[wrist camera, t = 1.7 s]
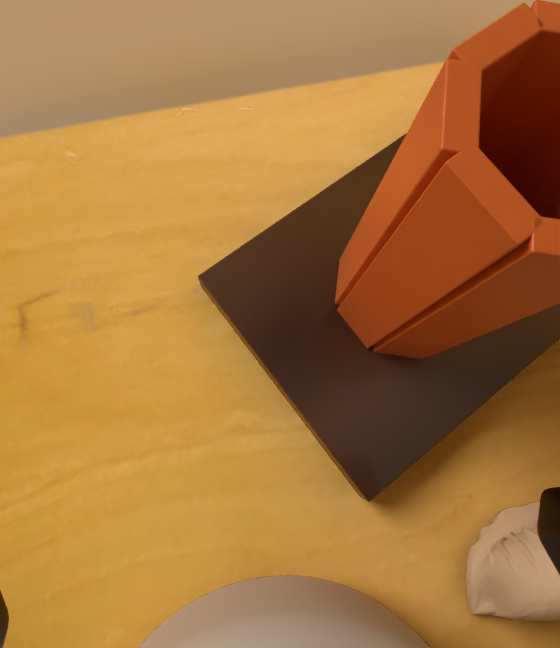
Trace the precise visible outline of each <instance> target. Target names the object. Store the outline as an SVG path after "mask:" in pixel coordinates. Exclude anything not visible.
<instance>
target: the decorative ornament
mask: <svg viewBox="0 0 560 648" xmlns="http://www.w3.org/2000/svg"><path fill="white" fill-rule="evenodd" d="M539 507H540V503H533V502H532V503H530V504H527V505H524V506H517V507H511V508H507V509H505V510H503V511H502V512H500V513H498V515H497V516H496V518H495V520H494V521H493V523H492V525H489V526H486V527H484V528H482V529H481V531H480V537H479V540H478V542H476V543H475V544H474V545H472V546H471V547H470V550H469V555H468V563H467V568H466V586H467V594H468V601H469V607H470V612H471V614H477V615H494V616H499V617H503V618H507V619H511V620H522V621H554V620H560V575H559V573H558V571H557V570H556V568H555V566H554V564H553V563H552V561H551V559H550V557H549V556H548V554H547V552H546V550H545V549H544V547H543V545H542V543H541V541H540V539H539V536H538V532H537V521H538V514H539Z"/></svg>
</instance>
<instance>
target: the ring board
mask: <svg viewBox="0 0 560 648" xmlns="http://www.w3.org/2000/svg"><path fill="white" fill-rule="evenodd" d="M406 134H407V133H406ZM406 134H405V135H403V136H402V137H400V138H399V139H398V140H396V141H395V142H393V143H392V144H390V145H389V146H387V147H386V148H384V149H383V150H381V151H380V152H379V153H377V154H376V155H374V156H373V157H371V158H370V159H368V160H367V161H365V162H364V163H362V164H361V165H360V166H358V167H357V168H355V169H354V170H352V171H351V172H349V173H348V174H346V175H345V176H343V177H342V178H341V179H339V180H338V181H336V182H335V183H333V184H332V185H330V186H329V187H327V188H326V189H324V190H323V191H321V192H320V193H319V194H317V195H316V196H314V197H313V198H311V199H310V200H308V201H307V202H305V203H304V204H302V205H301V206H300V207H298V208H297V209H295V210H294V211H292V212H291V213H289V214H288V215H286V216H285V217H283V218H282V219H281V220H279V221H278V222H276V223H275V224H273V225H272V226H270V227H269V228H267V229H266V230H264V231H263V232H262V233H260V234H259V235H257V236H256V237H254V238H253V239H251V240H250V241H248V242H247V243H245V244H244V245H243V246H241V247H240V248H238V249H237V250H235V251H234V252H232V253H231V254H229V255H228V256H226V257H225V258H224V259H222V260H221V261H219V262H218V263H216V264H215V265H213V266H212V267H210V268H209V269H207V270H206V271H205V272H203V273H202V274H200V275H199V276H198V278H199V281H200V284H201V287H202V288H203V290H204V291H205V292H206V294H207V295H208V296H209V298H210V299H211V300H212V302H213V303H214V304H215V305H216V307H217V308H218V309H219V311H220V312H221V313H222V315H223V316H224V317H225V319H226V320H227V321H228V323H229V324H230V325H231V327H232V328H233V329H234V331H235V332H236V333H237V335H238V336H239V337H240V339H241V340H242V341H243V343H244V344H245V345H246V346H247V348H248V349H249V350H250V352H251V353H252V354H253V356H254V357H255V358H256V360H257V361H258V362H259V364H260V365H261V366H262V368H263V369H264V370H265V372H266V373H267V374H268V376H269V377H270V378H271V380H272V381H273V382H274V384H275V385H276V386H277V387H278V389H279V390H280V391H281V393H282V394H283V395H284V397H285V398H286V399H287V401H288V402H289V403H290V405H291V406H292V407H293V409H294V410H295V411H296V413H297V414H298V415H299V417H300V418H301V419H302V421H303V422H304V423H305V425H306V426H307V427H308V428H309V430H310V431H311V432H312V434H313V435H314V436H315V438H316V439H317V440H318V442H319V443H320V444H321V446H322V447H323V448H324V450H325V451H326V452H327V454H328V455H329V456H330V458H331V459H332V460H333V462H334V463H335V464H336V466H337V467H338V468H339V469H340V471H341V472H342V473H343V475H344V476H345V477H346V479H347V480H348V481H349V483H350V484H351V485H352V487H353V488H354V489H355V491H356V492H357V493H358V495H359V496H360V497H362V498H363V499H365V500H367V501H371V500H372V499H373V498H374V497H375V496H376V495H377V494H379V493H380V492H381V491H382V490H383V489H384V488H386V487H387V486H388V485H389V484H390V483H391V482H393V481H394V480H395V479H396V478H397V477H398V476H400V475H401V474H402V473H403V472H404V471H405V470H407V469H408V468H409V467H410V466H411V465H412V464H414V463H415V462H416V461H417V460H418V459H419V458H421V457H422V456H423V455H424V454H425V453H426V452H428V451H429V450H430V449H431V448H432V447H433V446H435V445H436V444H437V443H438V442H439V441H440V440H442V439H443V438H444V437H445V436H446V435H447V434H449V433H450V432H451V431H452V430H453V429H454V428H456V427H457V426H458V425H459V424H460V423H461V422H463V421H464V420H465V419H466V418H467V417H468V416H470V415H471V414H472V413H473V412H474V411H475V410H477V409H478V408H479V407H480V406H481V405H482V404H484V403H485V402H486V401H487V400H488V399H489V398H491V397H492V396H493V395H494V394H495V393H496V392H498V391H499V390H500V389H501V388H502V387H503V386H505V385H506V384H507V383H508V382H509V381H510V380H512V379H513V378H514V377H515V376H516V375H517V374H519V373H520V372H521V371H522V370H523V369H524V368H526V367H527V366H528V365H529V364H530V363H531V362H532V361H534V360H535V359H536V358H537V357H538V356H539V355H541V354H542V353H543V352H544V351H545V350H546V349H548V348H549V347H550V346H551V345H552V344H553V343H555V342H556V341H557V340H558V339H559V338H560V304H557V305H555V306H552V307H550V308H547V309H545V310H542V311H540V312H537V313H535V314H533V315H530V316H528V317H525V318H523V319H520V320H518V321H515V322H513V323H511V324H508V325H506V326H503V327H501V328H498V329H496V330H493V331H491V332H489V333H486V334H484V335H481V336H479V337H476V338H474V339H471V340H469V341H467V342H464V343H462V344H459V345H457V346H454V347H452V348H449V349H447V350H444V351H442V352H440V353H437V354H435V355H432V356H430V357H426V358H423V359H417V358H410V357H403V356H396V355H389V354H382V353H375V352H373V347H374V345H373V346H372V347H370V348H366V346H365V345H364V344H363V343H362V341H361V340H360V339H359V338H358V336H357V335H356V334H355V332H354V331H353V330H352V329H351V327H350V326H349V325H348V324H347V322H346V321H345V320H344V319H343V317H342V316H341V315H340V314H339V312H338V311H337V309H338V308H339V306H340V305H337V304H335V297H336V288H337V279H338V270H339V261H340V258H341V256H342V254H343V252H344V250H345V248H346V246H347V245H348V243H349V241H350V239H351V237H352V235H353V233H354V231H355V230H356V228H357V226H358V224H359V222H360V220H361V218H362V216H363V215H364V213H365V211H366V209H367V207H368V205H369V203H370V201H371V200H372V198H373V196H374V194H375V192H376V190H377V188H378V187H379V185H380V183H381V181H382V179H383V177H384V175H385V173H386V172H387V170H388V168H389V166H390V164H391V162H392V160H393V158H394V157H395V155H396V153H397V151H398V149H399V147H400V145H401V143H402V142H403V140H404V138H405V136H406Z"/></svg>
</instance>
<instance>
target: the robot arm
mask: <svg viewBox="0 0 560 648" xmlns="http://www.w3.org/2000/svg"><path fill="white" fill-rule="evenodd" d="M537 532H538V536H539V539H540V541H541V543H542V545H543V547H544V549H545V550H546V552H547V554H548V556H549V557H550V559H551V561H552V563H553V564H554V566H555V568H556V570H557V571H558V573H559V575H560V487H555V488H549V489H546V490H544V491H543V493H542V495H541V500H540V507H539V514H538V521H537ZM8 623H9V615H8V610H7V607H6V604H5V601H4V599H3V596H2V593H1V591H0V648H3V645H4V641H5V637H6V633H7V629H8Z"/></svg>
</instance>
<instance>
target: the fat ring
mask: <svg viewBox="0 0 560 648" xmlns="http://www.w3.org/2000/svg"><path fill="white" fill-rule="evenodd" d="M138 648H430V647H429V646H428V645H427V644H426V643H425V641H424V640H423V639H422V638H421V637H420V636H419V635H418V634H417V633H416V632H415V631H414V630H413V629H412V628H411V627H410V626H409V625H408V624H407V623H406V622H404V621H403V620H402V619H401V618H400V617H398V616H397V615H396V614H395V613H393V612H392V611H391V610H389V609H388V608H386V607H385V606H383V605H382V604H380V603H379V602H377V601H375V600H374V599H372V598H370V597H368V596H366V595H365V594H362V593H360V592H358V591H356V590H354V589H352V588H349V587H346V586H344V585H341V584H338V583H335V582H331V581H327V580H323V579H318V578H312V577H305V576H291V575H281V576H267V577H260V578H254V579H249V580H245V581H241V582H237V583H234V584H231V585H228V586H225V587H222V588H220V589H217V590H215V591H213V592H210V593H208V594H206V595H204V596H202V597H201V598H199V599H197V600H195V601H193V602H192V603H190V604H188V605H187V606H185V607H184V608H182V609H181V610H179V611H178V612H177V613H175V614H174V615H173V616H171V617H170V618H169V619H168V620H166V621H165V622H164V623H163V624H162V625H160V626H159V627H158V628H157V629H156V630H155V631H154V632H153V633H152V634H151V635H150V636H149V637H148V638H147V639H146V640H145V641H144V642H143V643H142V644H141V645H140V646H139V647H138Z"/></svg>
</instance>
